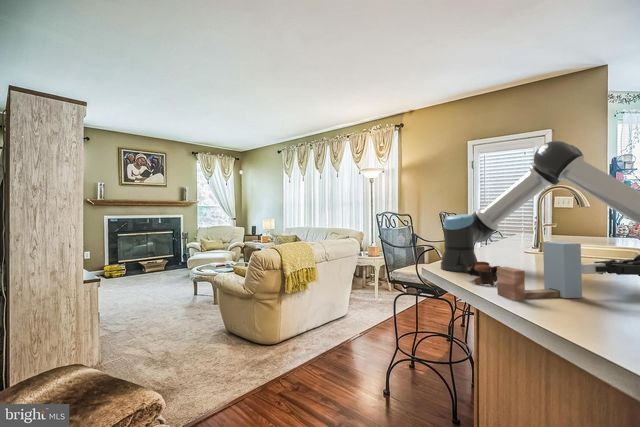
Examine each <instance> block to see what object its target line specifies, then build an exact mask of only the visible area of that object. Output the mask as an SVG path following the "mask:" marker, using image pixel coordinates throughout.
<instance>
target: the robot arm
mask: <svg viewBox="0 0 640 427" xmlns="http://www.w3.org/2000/svg"><path fill="white" fill-rule="evenodd" d="M563 181H566V182H567V183H569V184H570V185H572V186H574V187H576V188H577V189H579V190H581V191H582V192H584V193H586V194H587V195H589V196H591V197H592V198H594V199H596V200H597V201H599V202H601V203H603V204H604V205H605V206H607V207H609V208H610V209H612V210H614V211H615V212H617V213H619V214H621V215H622V216H624V217H626V218H627V219H629V220H630V221H632V222H634V223H635V224H638V226H640V191H639V190H637V189H636V188H634V187H632V186H631V185H629V184H627V183H625V182H623V181H621V180H619V179H618V178H616V177H614V176H612V175H610V174H608V173H607V172H605V171H603V170H601V169H599V168H598V167H595V166H594V165H592V164H590V163H588V162H587V161H585V156H584V154H583V152H582V151H581V150H580V149H579V148H578V147H577V146H575V145H573V144H572V145H571V144H569V143H566V142H565V141H561V140H553V141H549V142H545V143H543V144H542V145H540V146H539V147H538V148H537V149H536V151H535V153H534V154H533V162H532V163H530V165H529V170H528V171H527V173H525V174H524V175H523V176H521V178H519V179H518V180H517V181H515V182H514V183H513V184H512V185H511V186H509V187H508V188H507V189H506V190H505V191H503V193H501V194H500V195H499V196H497V198H495V199H494V200H493V201H492V202H490V203H489V204H488V205H487V206H485V207H484V208H483V209H477V210H476V211H474V212H473V213H472V214H467V213H466V214H456V215H455V214H454V215H447V216H446V217H445V218H444V220H443V238H444V239H443V240H444V242H443V244H444V251H443V255H442V258H441V262H440V269H442V270H444V271H450V272H461V273H462V272H463V273H466V270H467V265H468V264H470V263H475V262H479V261H478V259H477V256H476V253H475V244H477V243H483V242H485V241H488V240H489V239H490V238H491V237H492V236H493V235H494V233H495V232H496V231H497V230H498V229H499V224H500V223H501V222H502V221H504V220H506V219H507V218H508V217H509V216H510V215H511V214H513V213H515V211H517V210H518V209H520V208H521V207H522V206H524V204H526V203H528V202H529V201H530V200H532V198H535V196H536V195H538V194H540V193H541V192H542V191H543V190H544V189H545V188H547V187H549V186H551V187H553V186H556V185H557V184H559V183H561V182H563ZM473 268H475V267H473ZM581 273H582V274H583V275H595V274H596V275H604V274H610V275H612V274H615V275H618V276H620V275H621V276H626V275H627V276H634V275H635V276H638V277H640V254H637V255H636V256H635V257H634V258H633V259H631V258H630V259H626V260H625V259H624V260H619V261H618V260H616V259H610V260H603V261H602V260H601V261H594V262H592V263H591V262H590V263H588V262H587V263H581Z"/></svg>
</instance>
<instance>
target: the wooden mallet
mask: <svg viewBox="0 0 640 427" xmlns="http://www.w3.org/2000/svg"><path fill="white" fill-rule="evenodd" d="M496 276H497V282H496V284H497V295H498V296H500V297H503V298H506V299H509V300H511V301H514V302H523V301H526V299H541V298H542V299H543V298H544V299H545V298H561V297H560V291H558V290H555V289H544V288H542V289H526V288H525V287H526V284H525V281H526V280H525V279H526V278H525V270H522V269H518V268H513V267H509V266H500V267H497V272H496Z"/></svg>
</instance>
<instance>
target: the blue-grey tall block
mask: <svg viewBox="0 0 640 427" xmlns="http://www.w3.org/2000/svg"><path fill="white" fill-rule="evenodd" d="M542 246H543V249H542V252H543V253H542V254H543V255H542V256H543V289H555V290H558V291H560V297H559V298H562V299H577V298H578V299H580V298H583V282H582V281H583V280H582V279H583V278H582V276H583V275H582V273H581V264H582V248H581V247H582V245H581V243H580V242H579V243H578V242H577V243H576V242H569V241H568V242H566V241H543V242H542Z"/></svg>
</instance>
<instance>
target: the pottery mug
mask: <svg viewBox="0 0 640 427" xmlns="http://www.w3.org/2000/svg"><path fill="white" fill-rule="evenodd" d="M473 267H475V268H473ZM497 267H501V266H500V265H496V266H491V265H490V263H489V262H487V261H478V262H475V263H470V264H468V265H467V270H466V272H464V273H465V274H468V275H470V276H474V277H475V276H476V277H475V278H473V280H474V283H475V285H490V286H494V282H495V283H497Z"/></svg>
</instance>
